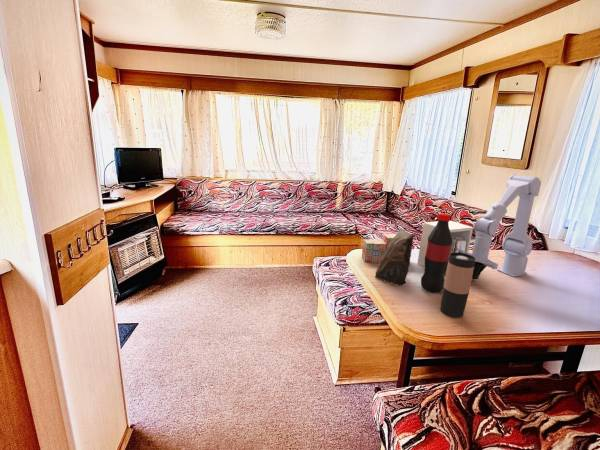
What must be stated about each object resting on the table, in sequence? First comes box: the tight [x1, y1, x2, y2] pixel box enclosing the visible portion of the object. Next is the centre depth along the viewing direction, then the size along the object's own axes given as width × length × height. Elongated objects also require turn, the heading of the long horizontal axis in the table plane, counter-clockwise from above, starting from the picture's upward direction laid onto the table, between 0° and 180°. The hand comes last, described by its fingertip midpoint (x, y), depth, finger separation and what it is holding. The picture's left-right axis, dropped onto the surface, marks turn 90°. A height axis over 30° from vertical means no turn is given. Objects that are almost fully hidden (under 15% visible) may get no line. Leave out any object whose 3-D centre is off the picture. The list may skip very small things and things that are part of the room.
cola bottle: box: [420, 212, 453, 294], centre depth 119 cm, size 8×8×30 cm
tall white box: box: [417, 220, 474, 268], centre depth 144 cm, size 16×12×20 cm
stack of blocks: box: [361, 233, 414, 263], centre depth 149 cm, size 21×6×12 cm, turn 93°
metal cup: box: [450, 237, 466, 253], centre depth 140 cm, size 7×7×15 cm
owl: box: [374, 228, 415, 286], centre depth 128 cm, size 13×13×20 cm
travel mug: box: [439, 252, 476, 319], centre depth 104 cm, size 8×8×20 cm
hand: (474, 278), depth 131 cm, fingers closed
